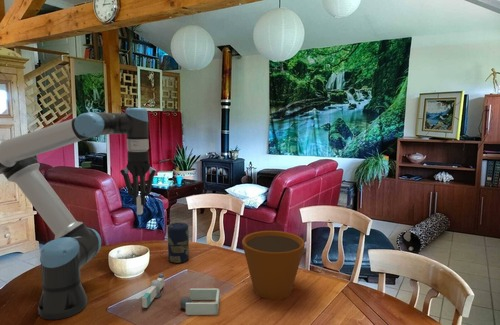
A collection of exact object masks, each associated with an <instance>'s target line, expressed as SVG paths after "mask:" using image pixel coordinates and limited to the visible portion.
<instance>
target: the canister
mask: <svg viewBox="0 0 500 325" xmlns="http://www.w3.org/2000/svg"><path fill="white" fill-rule="evenodd" d="M189 236H190V235H189V224H187V223H186V222H174V223H170V224H168V225H167V252H168V254H167V255H168V256H167V257H168V260H169V261H170V262H171V263H179V264H180V263H184V262H186V261H187V260H189V257H190V254H189V253H190V249H189V246H190V244H189V243H190V241H189V240H190V239H189V238H190V237H189Z"/></svg>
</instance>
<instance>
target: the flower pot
mask: <svg viewBox="0 0 500 325" xmlns="http://www.w3.org/2000/svg"><path fill="white" fill-rule="evenodd" d="M241 244H242V249H243V251H244V252H243V253H244V256H245V259H246V260H245V261H246V264H247V268H248V270H249V275H250V278H251V279H250V280H251V283H252V287H253V291H254V292H256V293H257V294H256V293H255V294H256V295H258V296H260V297H262V298H264V299H268V300H284V299H287V298H288V297H290V296H291V294H292V290H293V289H294V284H295V280H296V278H297V274H298V273H297V272H298V270H299V266H300V262H301V260H302V256H303V252H304V249H305V246H306V242H305V240H304V239H303V238H302V237H301V236H299V235H296V234H294V233H290V232H286V231H281V230H263V231H262V230H261V231H254V232H251V233H248V234H246V235H244V237H243V239H242V241H241Z"/></svg>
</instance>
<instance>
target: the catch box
mask: <svg viewBox="0 0 500 325" xmlns="http://www.w3.org/2000/svg"><path fill="white" fill-rule="evenodd" d="M220 289H221V288H189V298H190V299H191V301H206V300H207V301H215V302H192V303H186V309H185V316H204V315H205V316H218V315H219V309H220V308H219V307H220V306H219V305H220V291H221V290H220Z"/></svg>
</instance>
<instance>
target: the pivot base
mask: <svg viewBox="0 0 500 325" xmlns="http://www.w3.org/2000/svg"><path fill="white" fill-rule="evenodd" d="M162 296H163V293H162V292H161V291H160V294H158V295H156V296H155V298H154V299H153V300H155V299H156V300H157V299H160V298H161V297H162Z"/></svg>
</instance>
